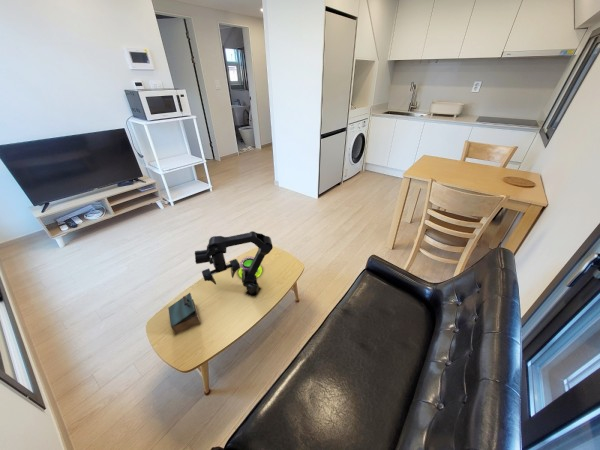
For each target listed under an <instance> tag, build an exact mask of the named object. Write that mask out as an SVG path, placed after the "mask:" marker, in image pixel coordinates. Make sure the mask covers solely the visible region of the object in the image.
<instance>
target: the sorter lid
mask: <svg viewBox="0 0 600 450" xmlns="http://www.w3.org/2000/svg"><path fill="white" fill-rule="evenodd" d="M192 299H193V297H192V293H191V292H188V293H187V294H186V295H184V296H182V297H181V298H180V299H179V300H177V301H176V302H174V303H173V304H171V305H170V306H169V307H168V308H167V309H168V316H169V323H170V328H172V327H173V326H174V325H176V324H177V323H178V322H180V321H181V320H183V319H184V318H185V317H187V316H188V315H190V314H191V313H192V312H194V311H195V309H194V305H193V301H192Z"/></svg>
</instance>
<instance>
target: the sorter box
mask: <svg viewBox="0 0 600 450" xmlns="http://www.w3.org/2000/svg"><path fill="white" fill-rule="evenodd" d="M192 301H193V305H194V309H195V311H194V312H192V313H191V314H190V315H188V316H187V317H185V318H184V319H183V320H181V321H180V322H178V323H177V324H176V325H174V326H173V327H171V329H172V331H173V333H174V335H179V334H182V333H183V332H185V331H188V330H190V329H192V328H194V327H197V326H199V325H201V319H200V315H199V312H198V309H197V305H196V303H195V301H194V299H193V298H192Z"/></svg>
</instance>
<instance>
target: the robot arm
mask: <svg viewBox="0 0 600 450" xmlns="http://www.w3.org/2000/svg"><path fill="white" fill-rule="evenodd" d="M249 243H251V244H253V245H254V246H256V247H258V249H257V252H256V254H255V255H254V256H253V257H254V258H253V261H252V263H251V265H250V267H249V269H248V270H244V272H243V273H242V278H241V283H242V285H243V286H244V287H245V288H246V292H245V294H246V295H249V296H252V297H254V298H255V297H257V295H258V294H259V293H260V291H261V287H260V285H259V282H258V277H256V275H255V274H256V272H257V270H258V268H259V266H261V264H262V263H263V261H264V259H265V256H266V255H269V254H270V253H271V251H272V250H273V247H274V246H273V243H272V238H271V237H270V236H268V235H265V234H263V233H259V232H256V231H253V230H252V231H249V232H246V233H241V234H240V233H239V234H236V235H230V236H222V235H214V236H210V238H209V240H208V243H207V246H206V249H201V250H195V251H194V259H195V260H194V262H195V264H196V265H199V264H205V263H209V265H213V268H214V269H211V270H210V268H206V269H203V270H201V274H202V277H203V280H204V281H205V282H211V283H213V284H214V285H217V281H216V280H215V277H214V275H217V274H219V273H222V272H224V271H227V270H228V269H230V275H231V278H232V279H233V278H234V277H235V274H236V273H237V271H239V269H240V268H241V267H240V266H241V265H240V261H238V259H237V258H234V259H232V260H229V263H226V258H225V255H224V254H227V248H230V247H235V246H239V245H244V244H249Z"/></svg>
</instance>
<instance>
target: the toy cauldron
mask: <svg viewBox="0 0 600 450" xmlns="http://www.w3.org/2000/svg"><path fill="white" fill-rule="evenodd" d="M254 257H255V256H248V255H247V256H246V257H244V258H243V259H242V260H241V261H239V264H240V268H239V269H238V276H239V278H240V279H242V273H243V272H244V270H248V269H249V267H250V265H251V263H252V261H253V259H254ZM262 272H263V268H262V266H261V265H260V266H259V268H258V270H257V272H256V274H255V275H256V277H257V278H259V277H260V276H261V274H262Z"/></svg>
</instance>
